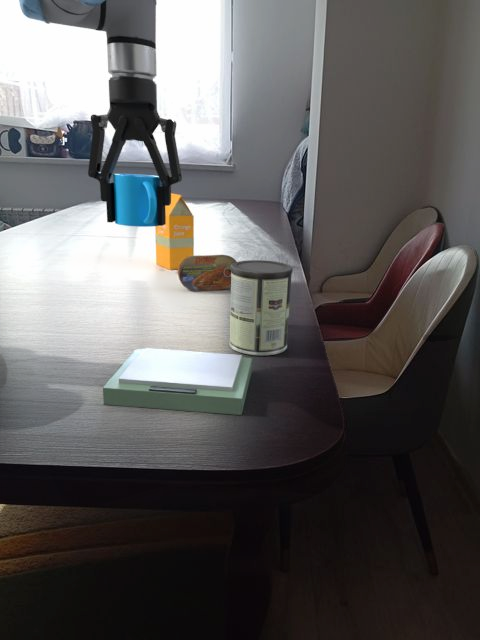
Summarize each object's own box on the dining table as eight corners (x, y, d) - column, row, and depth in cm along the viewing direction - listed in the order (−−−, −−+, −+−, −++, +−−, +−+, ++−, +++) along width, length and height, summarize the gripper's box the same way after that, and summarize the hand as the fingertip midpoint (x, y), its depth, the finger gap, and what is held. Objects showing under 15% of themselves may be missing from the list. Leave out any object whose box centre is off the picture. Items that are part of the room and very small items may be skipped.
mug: (109, 220, 93) (107, 173, 90) (153, 220, 97) (152, 175, 94) (130, 230, 83) (128, 177, 80) (177, 229, 87) (177, 179, 85)
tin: (179, 292, 121) (179, 256, 118) (176, 288, 124) (176, 254, 121) (239, 289, 127) (241, 255, 124) (235, 286, 129) (236, 252, 126)
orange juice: (179, 261, 154) (179, 192, 147) (194, 267, 147) (194, 195, 140) (155, 263, 149) (153, 192, 142) (169, 269, 143) (168, 195, 136)
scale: (103, 404, 66) (102, 383, 65) (136, 363, 80) (135, 345, 78) (241, 415, 66) (242, 394, 65) (251, 372, 79) (252, 354, 78)
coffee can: (250, 332, 97) (253, 257, 92) (297, 344, 91) (304, 266, 86) (216, 346, 88) (218, 265, 83) (266, 361, 83) (271, 275, 78)
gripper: (201, 85, 85) (199, 224, 93) (77, 78, 86) (85, 216, 94) (193, 78, 78) (192, 229, 86) (58, 70, 79) (69, 221, 87)
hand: (136, 222), depth 90 cm, fingers closed on mug, 8 cm apart
